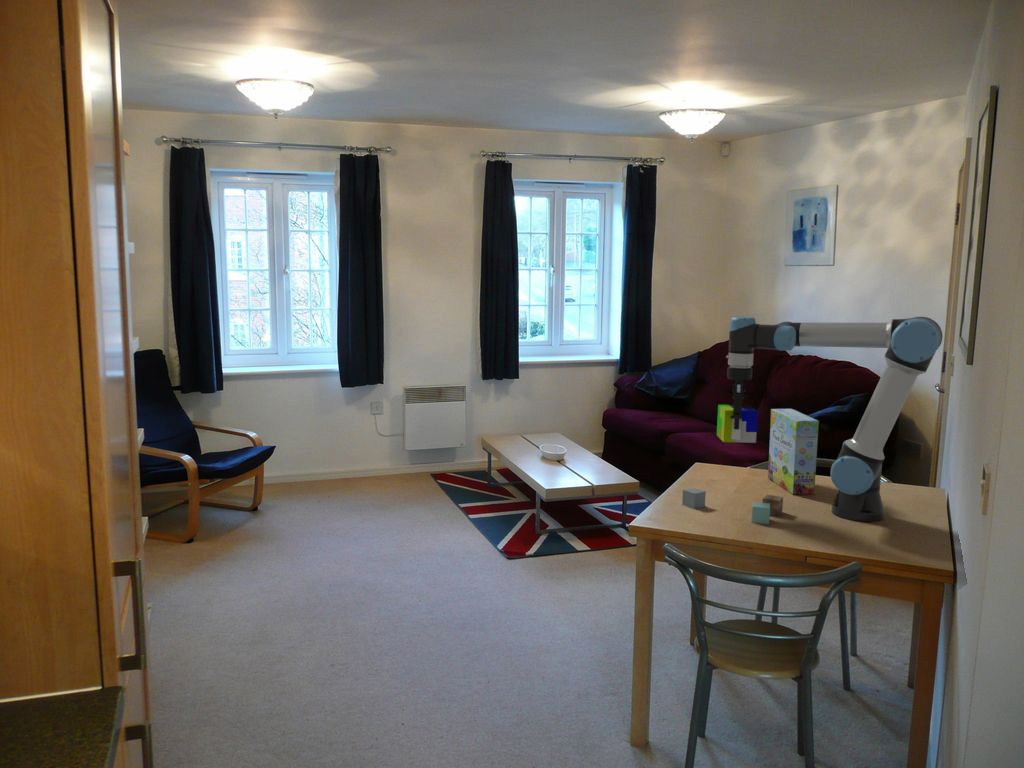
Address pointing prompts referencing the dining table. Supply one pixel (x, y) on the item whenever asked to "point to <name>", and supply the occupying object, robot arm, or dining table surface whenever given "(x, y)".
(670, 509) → the dining table surface
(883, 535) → the dining table surface
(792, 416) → the snack box
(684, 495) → the slate grey cube
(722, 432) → the puzzle toy
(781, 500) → the walnut cube
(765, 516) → the dusty teal cube
